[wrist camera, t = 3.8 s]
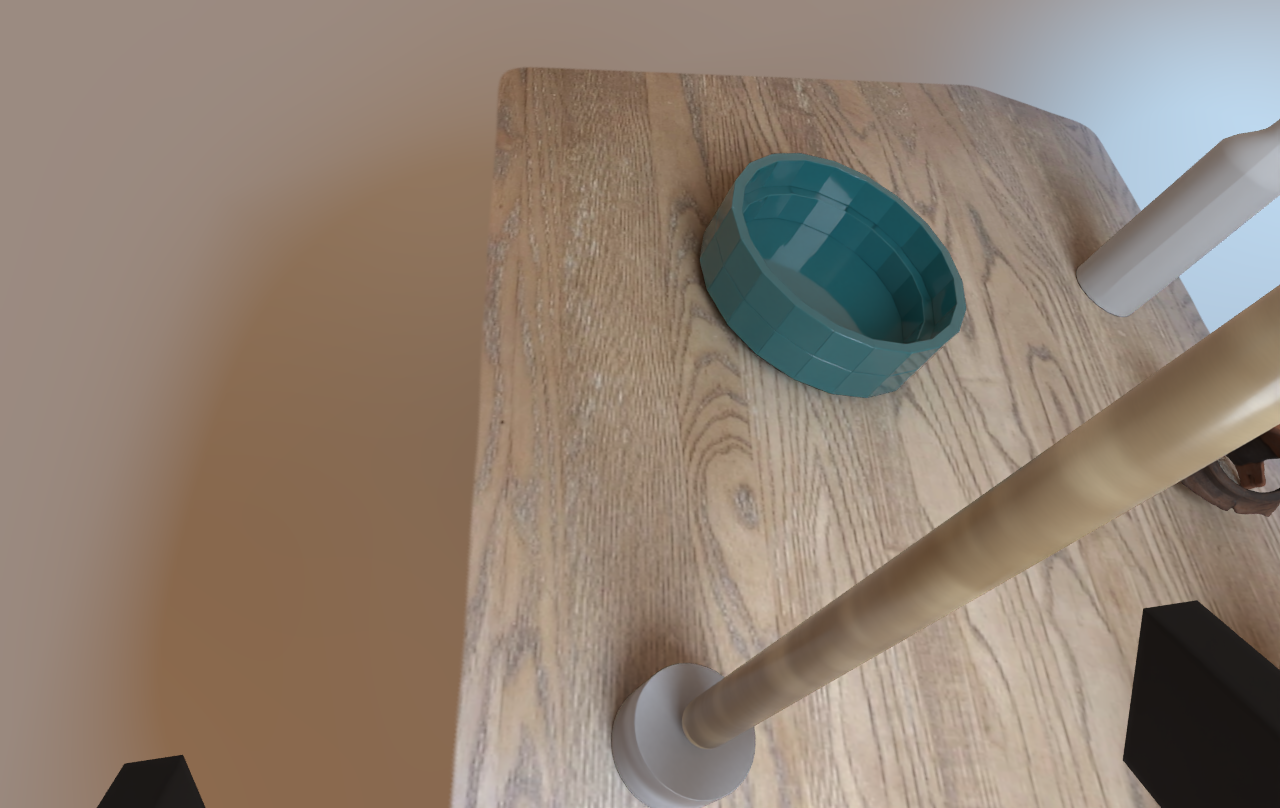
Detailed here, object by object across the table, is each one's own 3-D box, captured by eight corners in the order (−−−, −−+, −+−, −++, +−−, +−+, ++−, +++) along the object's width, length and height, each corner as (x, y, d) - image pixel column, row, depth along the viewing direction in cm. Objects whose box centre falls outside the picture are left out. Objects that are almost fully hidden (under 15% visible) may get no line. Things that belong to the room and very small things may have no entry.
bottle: (1089, 256, 84) (1373, 2, 63) (1141, 302, 83) (1449, 57, 62) (1066, 277, 80) (1362, 12, 59) (1120, 326, 79) (1443, 72, 58)
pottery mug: (1267, 523, 70) (1340, 504, 62) (1153, 536, 70) (1212, 519, 63) (1221, 387, 74) (1284, 354, 66) (1113, 400, 74) (1163, 368, 66)
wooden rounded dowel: (585, 736, 39) (1800, -258, 9) (668, 658, 43) (1717, -226, 13) (672, 844, 38) (2440, 115, 8) (749, 754, 41) (2136, 25, 11)
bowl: (646, 253, 60) (680, 190, 55) (790, 187, 71) (827, 131, 67) (831, 446, 56) (884, 395, 51) (952, 342, 67) (1003, 293, 63)
